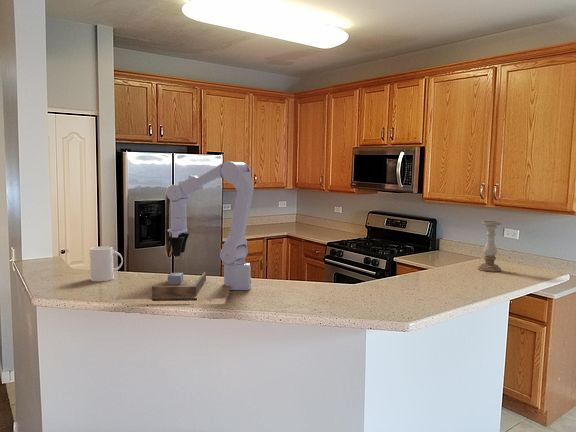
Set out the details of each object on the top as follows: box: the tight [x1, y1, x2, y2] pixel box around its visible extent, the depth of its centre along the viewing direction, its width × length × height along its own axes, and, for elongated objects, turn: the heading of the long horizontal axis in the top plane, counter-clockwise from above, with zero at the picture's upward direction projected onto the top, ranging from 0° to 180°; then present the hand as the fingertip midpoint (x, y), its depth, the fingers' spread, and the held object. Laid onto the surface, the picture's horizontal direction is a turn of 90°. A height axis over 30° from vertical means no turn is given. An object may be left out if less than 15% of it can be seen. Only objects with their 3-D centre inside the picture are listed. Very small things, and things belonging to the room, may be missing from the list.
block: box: [167, 272, 184, 284], centre depth 160 cm, size 4×4×3 cm
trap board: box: [151, 271, 207, 302], centre depth 153 cm, size 14×21×4 cm, turn 2°
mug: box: [89, 245, 124, 282], centre depth 172 cm, size 12×8×12 cm
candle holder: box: [477, 220, 502, 273], centre depth 188 cm, size 9×9×20 cm
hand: (179, 254), depth 167 cm, fingers open, 7 cm apart
